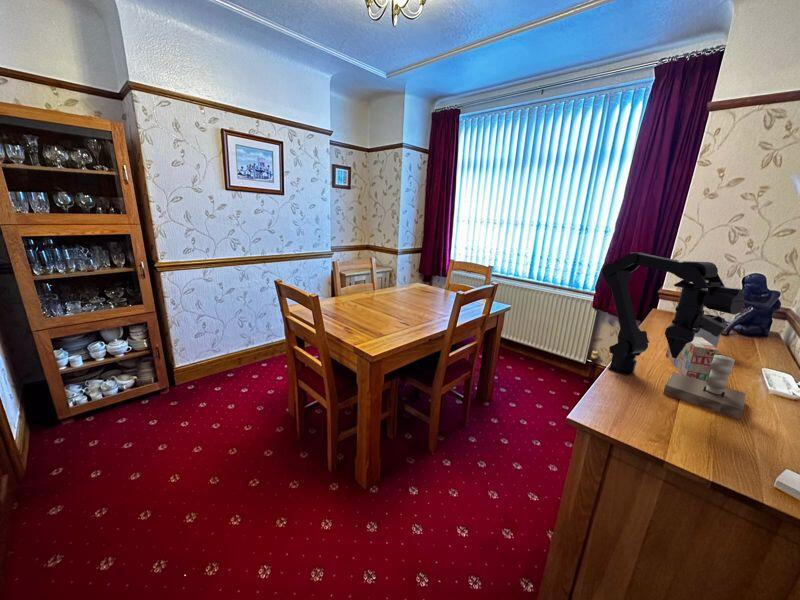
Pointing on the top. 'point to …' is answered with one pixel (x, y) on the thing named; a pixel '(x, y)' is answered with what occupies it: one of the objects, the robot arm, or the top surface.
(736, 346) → the top surface
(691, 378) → the gray slotted board
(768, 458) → the top surface
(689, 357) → the stack of blocks
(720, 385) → the ash peg
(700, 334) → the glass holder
